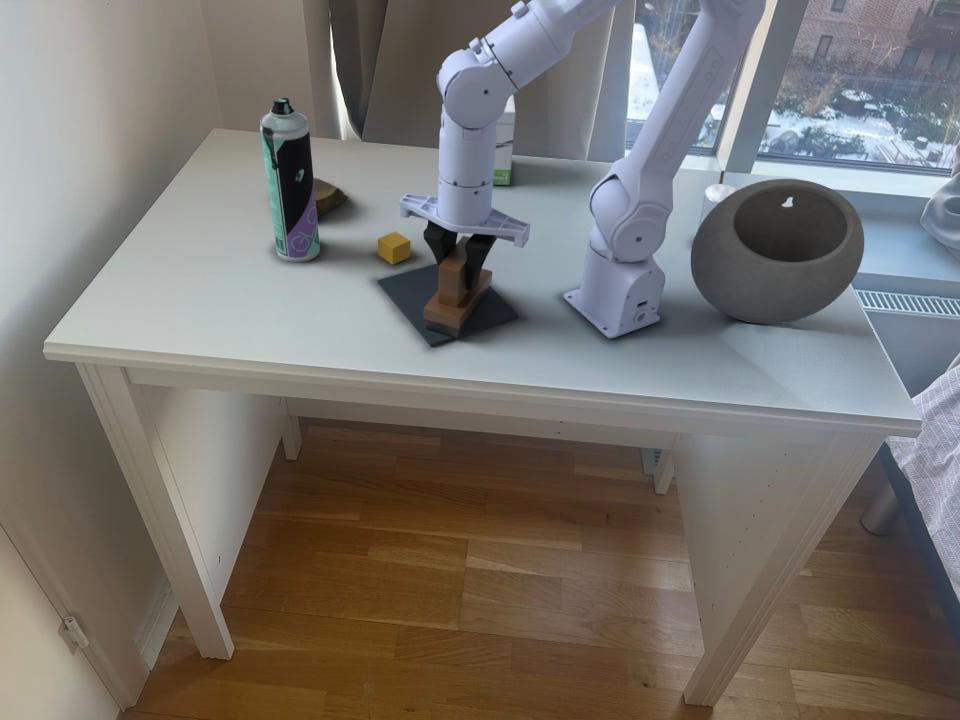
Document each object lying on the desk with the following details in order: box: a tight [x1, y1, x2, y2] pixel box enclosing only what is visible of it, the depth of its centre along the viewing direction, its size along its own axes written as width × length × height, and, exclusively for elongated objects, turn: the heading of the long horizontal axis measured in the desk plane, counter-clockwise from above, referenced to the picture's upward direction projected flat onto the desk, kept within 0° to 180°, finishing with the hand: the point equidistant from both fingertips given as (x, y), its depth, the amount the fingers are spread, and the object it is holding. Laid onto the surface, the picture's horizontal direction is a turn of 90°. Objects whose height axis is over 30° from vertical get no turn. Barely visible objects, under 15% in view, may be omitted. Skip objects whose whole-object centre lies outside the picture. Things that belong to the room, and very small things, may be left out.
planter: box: [690, 178, 865, 325], centre depth 85 cm, size 18×7×19 cm, turn 78°
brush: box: [424, 235, 493, 339], centre depth 86 cm, size 10×4×8 cm, turn 159°
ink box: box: [493, 94, 517, 186], centre depth 113 cm, size 9×5×12 cm, turn 2°
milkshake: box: [697, 170, 739, 230], centre depth 101 cm, size 4×5×10 cm
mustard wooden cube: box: [377, 231, 411, 266], centre depth 96 cm, size 3×3×2 cm
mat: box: [376, 263, 520, 348], centre depth 90 cm, size 14×12×1 cm
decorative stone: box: [313, 177, 349, 218], centre depth 105 cm, size 10×9×4 cm
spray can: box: [259, 97, 321, 263], centre depth 90 cm, size 6×6×20 cm
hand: (460, 282), depth 86 cm, fingers closed on brush, 2 cm apart
